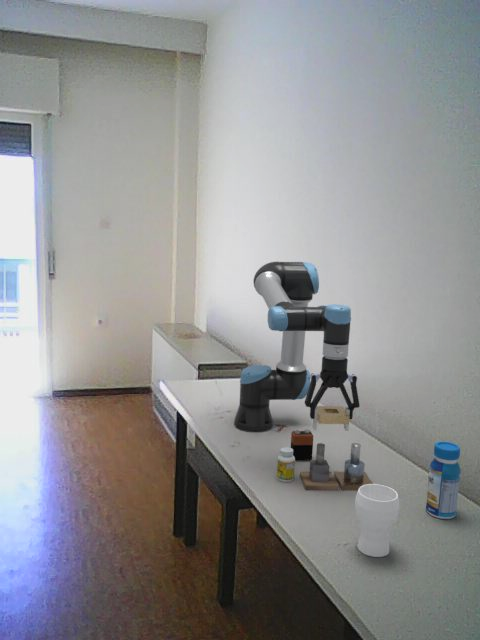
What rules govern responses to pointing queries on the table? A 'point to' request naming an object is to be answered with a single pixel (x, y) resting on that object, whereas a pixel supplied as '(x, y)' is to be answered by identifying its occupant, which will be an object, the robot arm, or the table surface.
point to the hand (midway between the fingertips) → (330, 428)
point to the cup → (376, 517)
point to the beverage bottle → (444, 481)
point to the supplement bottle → (286, 465)
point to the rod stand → (319, 473)
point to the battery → (302, 444)
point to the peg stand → (353, 471)
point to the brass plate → (332, 415)
